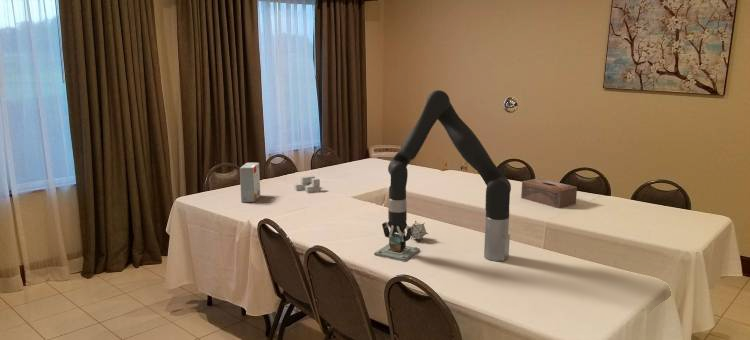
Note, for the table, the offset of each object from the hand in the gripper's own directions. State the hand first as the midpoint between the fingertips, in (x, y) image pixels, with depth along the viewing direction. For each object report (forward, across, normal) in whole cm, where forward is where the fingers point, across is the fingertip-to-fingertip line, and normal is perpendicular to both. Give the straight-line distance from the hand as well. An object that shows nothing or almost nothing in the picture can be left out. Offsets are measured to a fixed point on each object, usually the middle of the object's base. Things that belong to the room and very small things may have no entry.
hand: (397, 248), depth 224 cm
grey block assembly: (+3, +97, -63) cm, 116 cm away
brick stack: (+1, 0, 0) cm, 1 cm away
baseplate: (+2, 0, 0) cm, 2 cm away
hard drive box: (+2, +113, -32) cm, 117 cm away
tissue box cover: (+3, -35, -112) cm, 117 cm away
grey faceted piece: (+2, 0, -19) cm, 19 cm away
